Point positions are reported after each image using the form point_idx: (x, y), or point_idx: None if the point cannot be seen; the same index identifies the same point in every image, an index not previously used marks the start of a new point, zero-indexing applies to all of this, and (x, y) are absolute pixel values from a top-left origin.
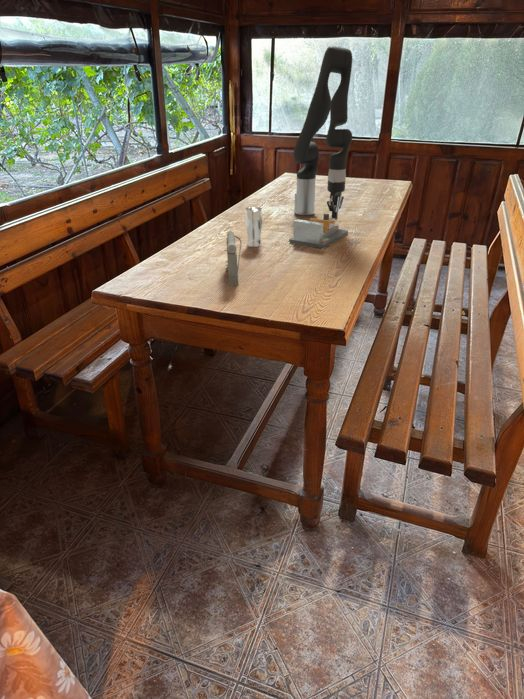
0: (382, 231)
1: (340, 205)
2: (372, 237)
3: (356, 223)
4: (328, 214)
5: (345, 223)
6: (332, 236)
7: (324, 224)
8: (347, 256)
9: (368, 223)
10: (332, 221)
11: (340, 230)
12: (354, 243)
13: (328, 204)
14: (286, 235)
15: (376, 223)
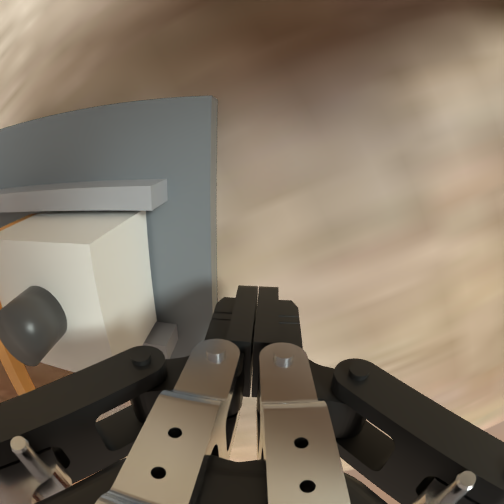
0: (347, 463)
1: (358, 454)
2: (230, 460)
3: (474, 331)
4: (32, 359)
5: (467, 272)
6: None
7: None
8: (2, 399)
9: (476, 378)
10: (15, 385)
11: (185, 351)
12: (101, 417)
13: (1, 422)
14: (3, 49)
15: (476, 402)
